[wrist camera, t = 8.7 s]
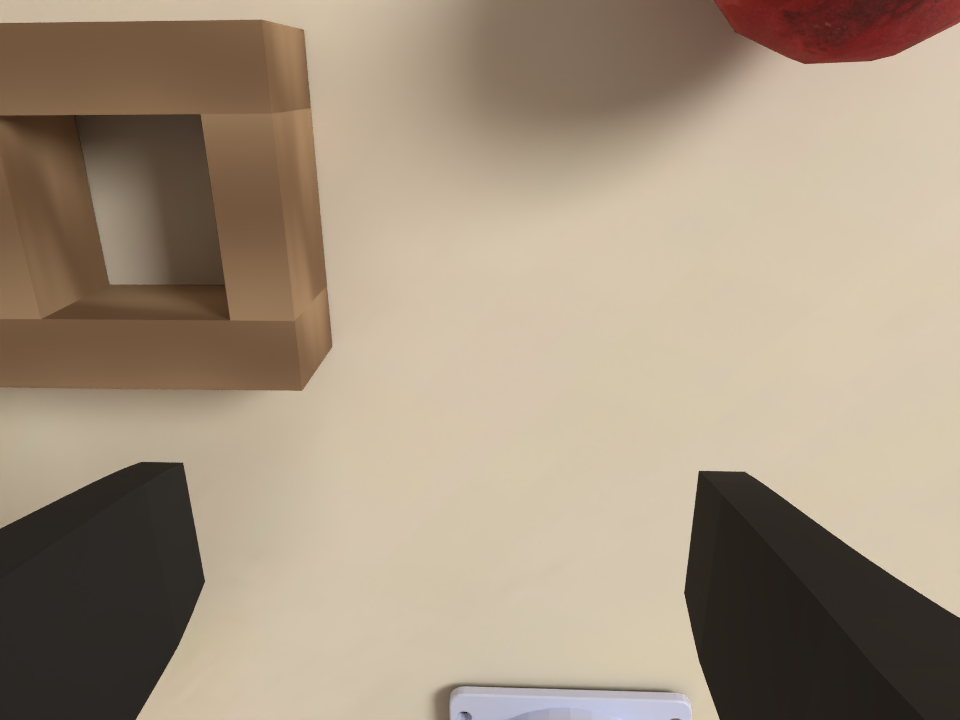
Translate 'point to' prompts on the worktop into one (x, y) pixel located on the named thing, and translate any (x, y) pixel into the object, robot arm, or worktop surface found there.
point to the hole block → (236, 197)
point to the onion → (839, 26)
